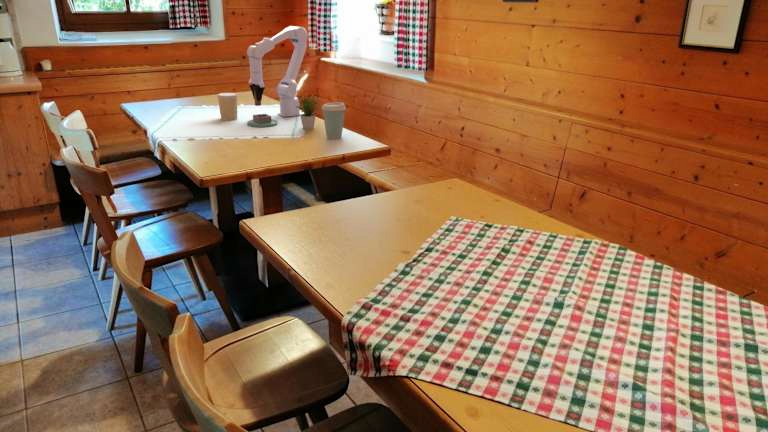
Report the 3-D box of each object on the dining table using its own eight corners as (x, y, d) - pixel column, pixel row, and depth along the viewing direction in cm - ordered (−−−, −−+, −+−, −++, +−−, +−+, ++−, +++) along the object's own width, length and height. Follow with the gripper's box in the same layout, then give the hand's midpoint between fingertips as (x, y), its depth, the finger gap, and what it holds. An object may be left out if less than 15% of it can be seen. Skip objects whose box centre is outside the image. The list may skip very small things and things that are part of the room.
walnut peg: (259, 104, 278) (258, 87, 275) (261, 105, 276) (261, 88, 273) (253, 104, 277) (252, 88, 274) (256, 105, 274) (255, 89, 271)
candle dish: (270, 119, 279) (269, 111, 277) (282, 125, 268) (281, 117, 267) (243, 122, 272) (242, 114, 270) (254, 128, 261) (253, 120, 259)
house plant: (318, 133, 256) (317, 97, 249) (289, 131, 258) (287, 95, 252) (327, 126, 268) (326, 92, 262) (299, 124, 271) (298, 90, 265)
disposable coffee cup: (324, 140, 244) (323, 106, 238) (320, 134, 254) (319, 101, 248) (348, 139, 247) (348, 105, 241) (343, 133, 256) (343, 100, 251)
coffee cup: (241, 117, 282) (239, 93, 278) (235, 121, 274) (233, 96, 269) (223, 116, 283) (221, 92, 279) (216, 120, 274) (214, 95, 270)
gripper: (242, 70, 274) (244, 98, 279) (253, 74, 263) (255, 103, 268) (256, 69, 277) (258, 97, 283) (268, 73, 266) (269, 102, 271)
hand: (257, 100), depth 275 cm, fingers closed on walnut peg, 3 cm apart
